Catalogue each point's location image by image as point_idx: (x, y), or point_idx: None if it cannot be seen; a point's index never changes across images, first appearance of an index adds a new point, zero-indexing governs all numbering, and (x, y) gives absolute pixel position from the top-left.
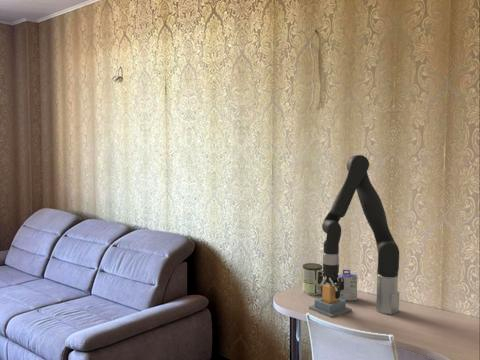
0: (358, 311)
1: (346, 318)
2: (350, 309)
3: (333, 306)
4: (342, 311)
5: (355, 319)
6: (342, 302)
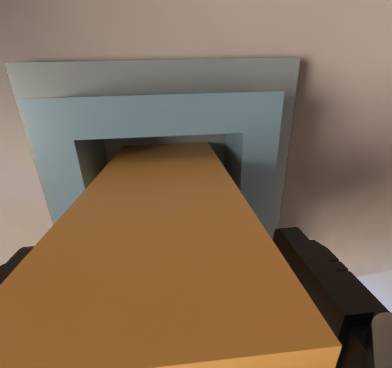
0: (343, 18)
1: (337, 206)
2: (296, 74)
3: None
4: (282, 175)
5: (389, 173)
6: (274, 150)
